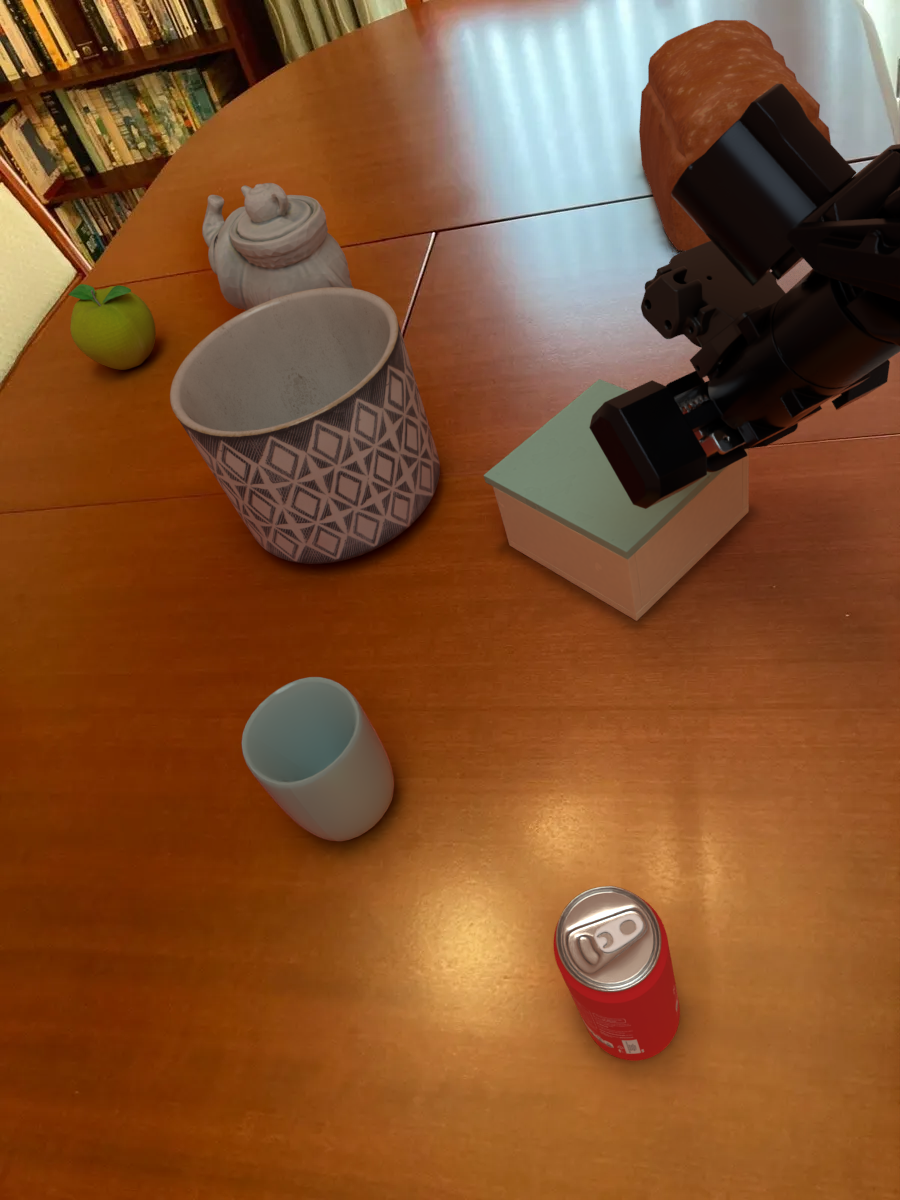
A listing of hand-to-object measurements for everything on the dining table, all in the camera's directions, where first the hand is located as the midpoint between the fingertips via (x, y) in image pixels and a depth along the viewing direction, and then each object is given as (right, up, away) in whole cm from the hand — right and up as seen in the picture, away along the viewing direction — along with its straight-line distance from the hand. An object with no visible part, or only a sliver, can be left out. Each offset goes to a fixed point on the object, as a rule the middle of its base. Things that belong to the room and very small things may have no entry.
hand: (678, 450), depth 60 cm
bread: (+17, +37, +42) cm, 58 cm away
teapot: (-33, +21, +44) cm, 59 cm away
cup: (-22, -24, +2) cm, 33 cm away
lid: (-3, 0, +7) cm, 8 cm away
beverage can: (-5, -33, -11) cm, 35 cm away
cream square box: (-1, -4, +12) cm, 13 cm away
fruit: (-55, +20, +51) cm, 77 cm away
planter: (-25, -1, +23) cm, 34 cm away
